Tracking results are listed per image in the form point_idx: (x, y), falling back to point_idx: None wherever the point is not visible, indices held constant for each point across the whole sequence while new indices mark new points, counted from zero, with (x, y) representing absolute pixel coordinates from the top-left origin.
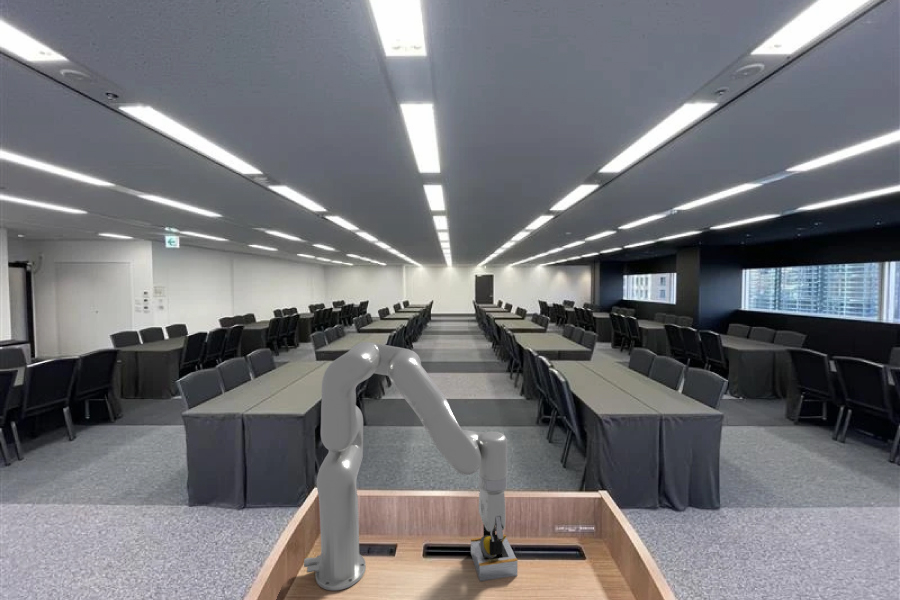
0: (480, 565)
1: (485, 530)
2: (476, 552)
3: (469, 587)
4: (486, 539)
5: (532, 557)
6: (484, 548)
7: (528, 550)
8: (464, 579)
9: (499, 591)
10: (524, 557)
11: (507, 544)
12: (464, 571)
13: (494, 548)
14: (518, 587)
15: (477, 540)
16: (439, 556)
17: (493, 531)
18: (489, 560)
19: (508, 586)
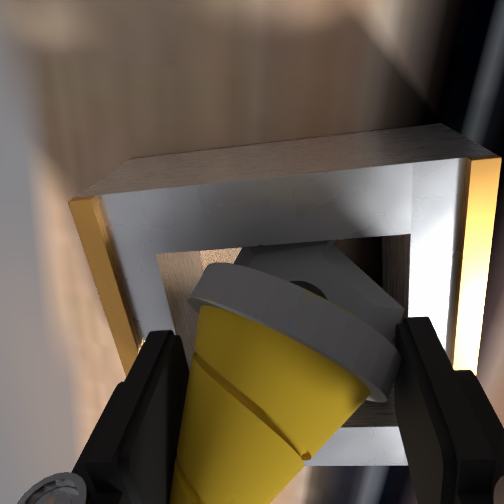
0: (73, 207)
1: (424, 410)
2: (264, 192)
3: (62, 69)
4: (271, 374)
5: (323, 480)
6: (206, 302)
7: (383, 479)
8: (139, 31)
9: (59, 270)
10: None
11: (342, 453)
12: (229, 39)
13: (99, 423)
14: (103, 369)
15: (459, 229)
16: None
17: (412, 467)
18: (154, 293)
19: (104, 324)
